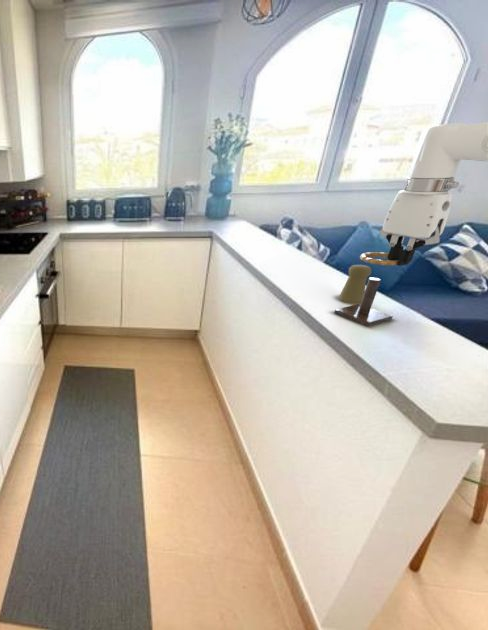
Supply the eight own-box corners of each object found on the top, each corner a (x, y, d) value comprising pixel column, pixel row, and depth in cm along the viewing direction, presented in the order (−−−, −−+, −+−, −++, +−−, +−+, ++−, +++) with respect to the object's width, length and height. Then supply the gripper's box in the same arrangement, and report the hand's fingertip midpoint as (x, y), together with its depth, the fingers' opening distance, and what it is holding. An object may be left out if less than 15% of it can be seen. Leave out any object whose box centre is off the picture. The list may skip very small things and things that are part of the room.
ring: (375, 254, 94) (376, 250, 93) (413, 262, 86) (414, 258, 86) (351, 259, 92) (352, 254, 91) (387, 267, 84) (389, 263, 84)
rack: (357, 307, 101) (369, 271, 96) (391, 319, 93) (406, 281, 89) (334, 313, 99) (345, 276, 94) (367, 326, 91) (381, 287, 86)
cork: (367, 303, 103) (379, 268, 98) (345, 303, 104) (356, 269, 99) (355, 296, 108) (366, 262, 103) (334, 296, 109) (344, 262, 104)
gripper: (483, 186, 72) (446, 270, 80) (398, 181, 85) (374, 253, 93) (460, 190, 70) (424, 275, 78) (377, 184, 84) (354, 257, 92)
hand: (397, 263), depth 86 cm, fingers closed on ring, 1 cm apart
